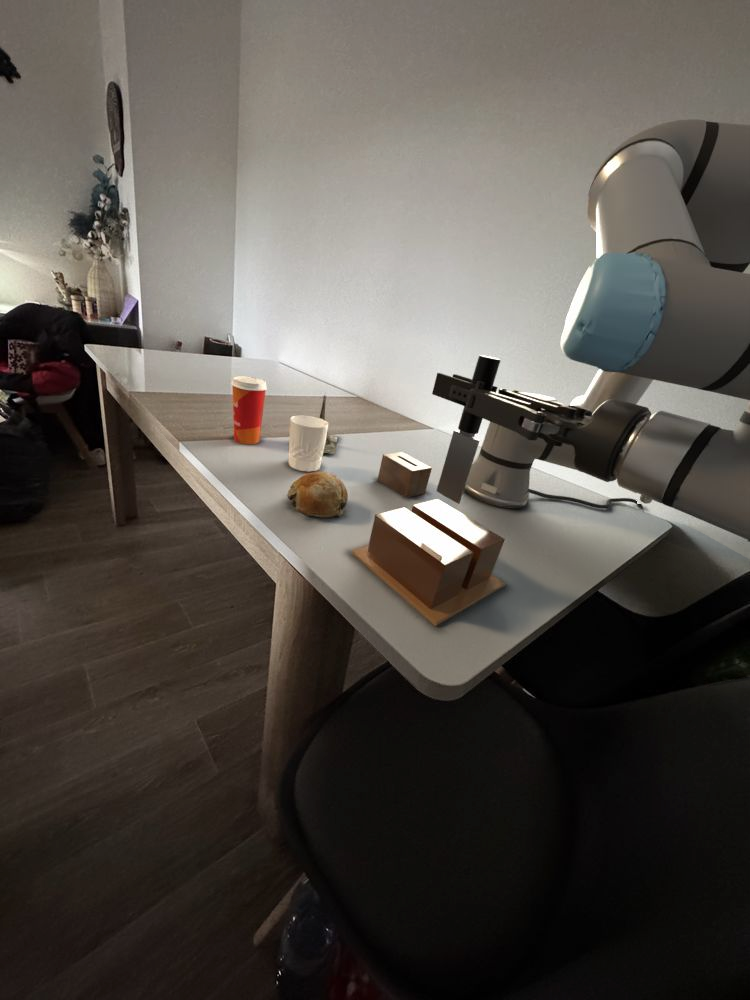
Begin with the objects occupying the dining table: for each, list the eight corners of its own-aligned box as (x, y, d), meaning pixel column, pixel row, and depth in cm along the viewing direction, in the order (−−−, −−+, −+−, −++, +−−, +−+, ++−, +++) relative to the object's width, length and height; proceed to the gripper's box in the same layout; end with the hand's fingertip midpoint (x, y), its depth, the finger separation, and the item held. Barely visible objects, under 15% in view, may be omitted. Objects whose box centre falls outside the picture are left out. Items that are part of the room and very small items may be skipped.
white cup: (319, 475, 82) (326, 429, 78) (282, 468, 81) (286, 422, 77) (324, 462, 89) (330, 419, 85) (290, 456, 88) (294, 412, 84)
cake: (503, 586, 59) (521, 544, 55) (435, 626, 48) (452, 577, 45) (422, 530, 69) (432, 492, 66) (351, 553, 59) (360, 509, 55)
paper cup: (236, 432, 95) (238, 373, 89) (267, 438, 96) (271, 380, 90) (224, 442, 88) (225, 379, 82) (257, 448, 89) (261, 386, 83)
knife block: (425, 493, 84) (432, 467, 82) (405, 497, 80) (412, 471, 78) (396, 476, 90) (402, 451, 87) (377, 479, 86) (382, 454, 83)
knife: (464, 502, 54) (510, 361, 46) (453, 505, 52) (498, 360, 44) (442, 489, 56) (482, 354, 48) (431, 492, 54) (470, 352, 46)
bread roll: (322, 540, 67) (348, 508, 63) (273, 504, 66) (297, 470, 62) (338, 515, 76) (362, 486, 72) (295, 482, 75) (317, 451, 71)
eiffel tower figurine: (300, 431, 105) (305, 381, 100) (337, 437, 107) (345, 388, 101) (292, 450, 92) (298, 393, 86) (335, 456, 93) (344, 401, 88)
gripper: (584, 496, 33) (396, 413, 48) (639, 474, 43) (470, 411, 58) (625, 410, 30) (410, 348, 45) (674, 408, 40) (486, 358, 55)
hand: (444, 384), depth 51 cm, fingers closed on knife, 3 cm apart
